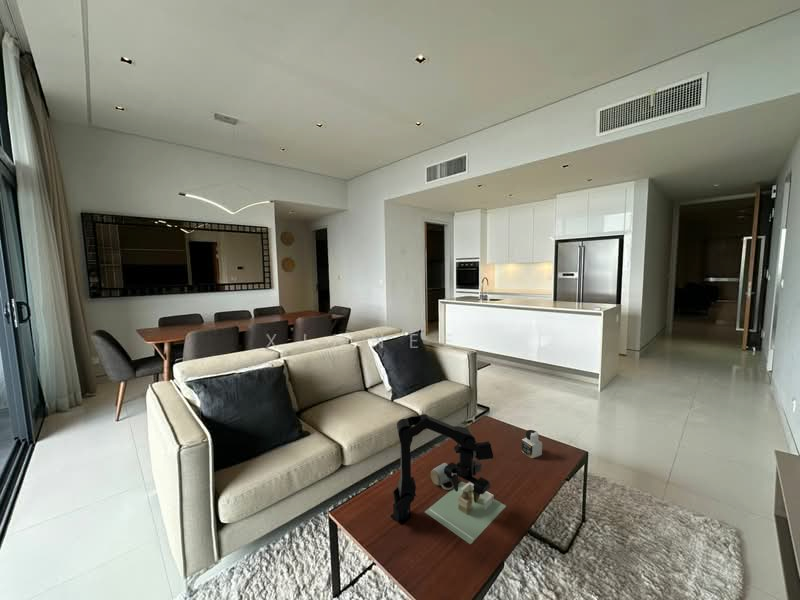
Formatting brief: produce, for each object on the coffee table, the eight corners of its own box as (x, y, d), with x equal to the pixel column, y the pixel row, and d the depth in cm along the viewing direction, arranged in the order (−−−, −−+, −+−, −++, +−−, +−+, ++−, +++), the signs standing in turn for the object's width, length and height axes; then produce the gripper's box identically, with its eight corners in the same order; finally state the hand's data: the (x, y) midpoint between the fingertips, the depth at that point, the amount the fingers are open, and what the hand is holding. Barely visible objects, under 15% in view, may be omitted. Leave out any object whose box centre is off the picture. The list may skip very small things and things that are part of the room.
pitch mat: (470, 545, 117) (470, 544, 117) (424, 512, 133) (424, 511, 133) (506, 506, 135) (506, 505, 135) (461, 482, 151) (461, 481, 151)
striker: (466, 514, 131) (466, 497, 130) (458, 509, 134) (458, 492, 133) (472, 509, 134) (472, 492, 133) (464, 504, 137) (464, 487, 136)
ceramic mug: (429, 481, 152) (429, 465, 151) (442, 474, 157) (442, 459, 156) (444, 494, 143) (444, 478, 142) (458, 487, 148) (458, 471, 147)
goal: (485, 509, 133) (485, 503, 133) (460, 495, 142) (460, 489, 141) (493, 501, 138) (493, 495, 137) (469, 488, 146) (469, 481, 146)
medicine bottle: (521, 451, 174) (521, 430, 172) (531, 448, 177) (531, 427, 175) (531, 458, 167) (532, 436, 166) (542, 455, 170) (542, 433, 169)
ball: (482, 494, 139) (480, 502, 138) (475, 489, 141) (472, 498, 141) (479, 494, 137) (476, 502, 136) (471, 489, 139) (469, 498, 138)
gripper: (497, 461, 131) (497, 497, 132) (458, 443, 144) (458, 476, 146) (482, 474, 123) (482, 512, 125) (442, 454, 136) (443, 489, 138)
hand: (466, 496), depth 133 cm, fingers open, 9 cm apart
